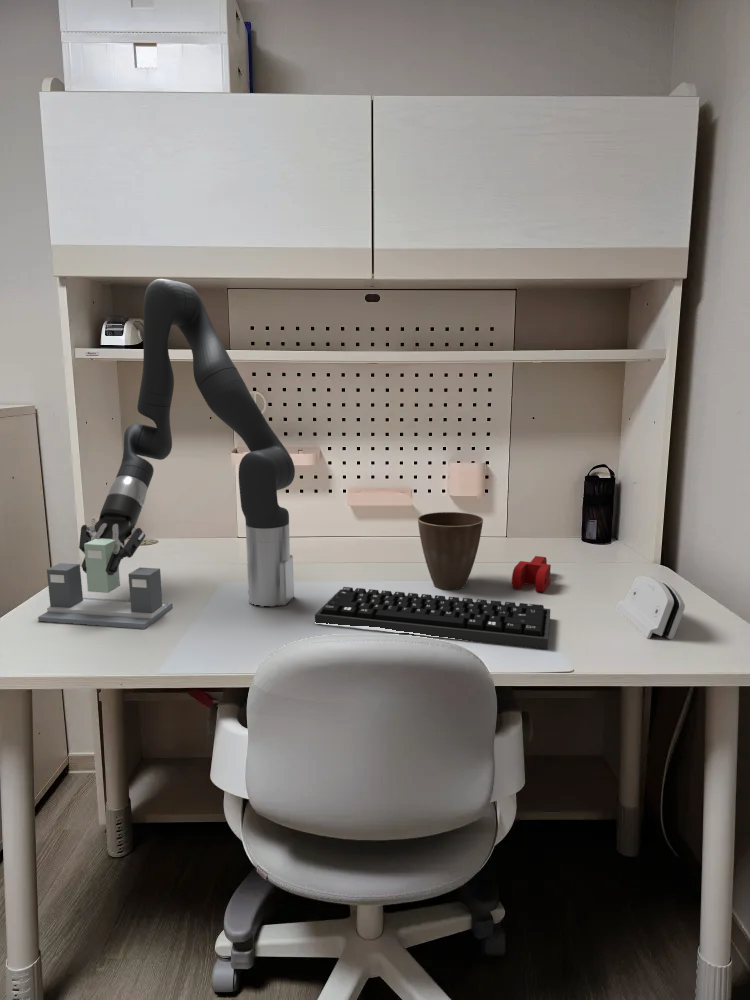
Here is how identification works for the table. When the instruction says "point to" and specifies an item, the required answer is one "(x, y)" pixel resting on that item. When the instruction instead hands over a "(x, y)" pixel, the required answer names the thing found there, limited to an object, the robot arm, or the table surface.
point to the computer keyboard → (440, 616)
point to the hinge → (652, 607)
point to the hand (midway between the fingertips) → (97, 572)
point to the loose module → (100, 566)
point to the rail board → (104, 600)
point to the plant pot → (450, 546)
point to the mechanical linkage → (532, 574)
